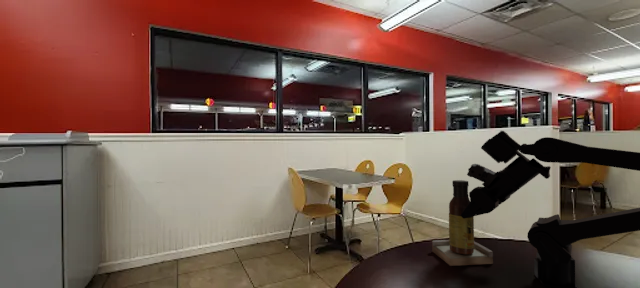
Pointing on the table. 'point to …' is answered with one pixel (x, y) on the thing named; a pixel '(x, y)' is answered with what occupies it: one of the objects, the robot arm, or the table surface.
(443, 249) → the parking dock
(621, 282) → the table surface
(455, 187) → the sauce bottle
